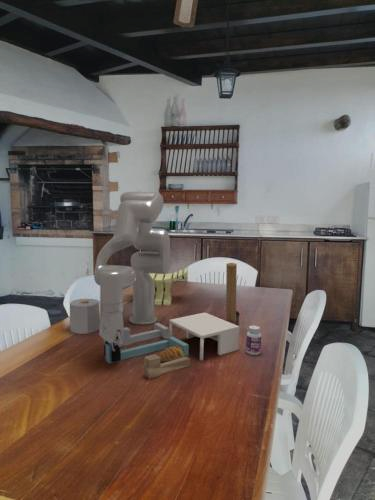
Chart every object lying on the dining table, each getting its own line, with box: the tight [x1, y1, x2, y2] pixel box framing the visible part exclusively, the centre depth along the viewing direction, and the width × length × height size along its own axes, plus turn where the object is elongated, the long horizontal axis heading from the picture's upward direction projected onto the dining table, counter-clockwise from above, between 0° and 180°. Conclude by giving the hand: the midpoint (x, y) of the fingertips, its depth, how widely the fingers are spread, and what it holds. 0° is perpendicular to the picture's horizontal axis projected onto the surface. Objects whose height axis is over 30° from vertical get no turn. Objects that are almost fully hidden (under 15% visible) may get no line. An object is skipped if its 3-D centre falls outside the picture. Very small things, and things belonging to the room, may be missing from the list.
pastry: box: [156, 346, 184, 363], centre depth 133 cm, size 9×7×4 cm
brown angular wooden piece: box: [143, 353, 191, 380], centre depth 123 cm, size 3×16×6 cm, turn 126°
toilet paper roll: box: [69, 298, 100, 335], centre depth 160 cm, size 12×12×12 cm
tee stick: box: [122, 322, 170, 347], centre depth 149 cm, size 8×20×6 cm, turn 126°
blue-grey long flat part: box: [105, 336, 190, 364], centre depth 132 cm, size 12×26×6 cm, turn 126°
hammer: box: [225, 262, 240, 326], centre depth 160 cm, size 20×5×30 cm, turn 164°
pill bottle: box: [245, 325, 262, 356], centre depth 139 cm, size 5×5×10 cm
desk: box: [168, 312, 240, 361], centre depth 144 cm, size 20×18×9 cm
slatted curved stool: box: [149, 267, 189, 306], centre depth 205 cm, size 30×16×18 cm, turn 89°
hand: (112, 357), depth 130 cm, fingers open, 4 cm apart
